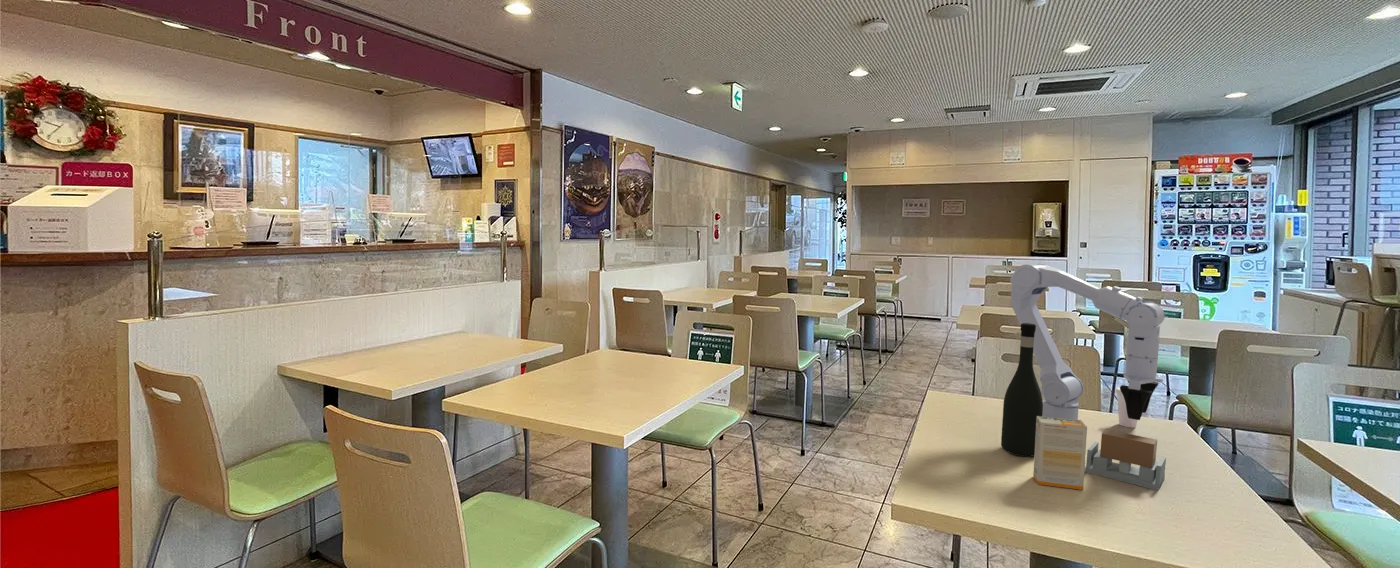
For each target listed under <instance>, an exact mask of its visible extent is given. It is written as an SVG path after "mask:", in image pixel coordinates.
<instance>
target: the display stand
mask: <svg viewBox="0 0 1400 568" xmlns="http://www.w3.org/2000/svg"><path fill="white" fill-rule="evenodd" d="M1100 450H1101V449H1099V442H1098V441H1097V442H1096V441H1094V442H1093V443H1092V444H1091V445H1090V447H1088V448H1087V449H1086V461H1085V470H1084V473H1087V474H1091V475H1096V476H1099V477H1104V478H1107V479H1110V480H1111V479H1112V480H1114V481H1115V480H1116V481H1120V482H1124V483H1128V484H1131V485H1137V486H1140V487H1143V488H1148V489H1151V490H1155V491H1159V490H1160V489H1161V486H1163V483H1164V481H1165V475H1166V465H1167V463H1166V461H1167V456H1161V457H1160V459H1159V461H1158V462H1157V461H1156V462H1155V465H1154V466H1153V468H1148V467H1144V466H1140V465H1139V467H1134V466H1132V464H1131V463H1127V462H1122V461H1119V462H1118V463H1117V462H1114V461H1113V459H1109V458H1105V457H1100Z"/></svg>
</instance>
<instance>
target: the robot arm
mask: <svg viewBox="0 0 1400 568" xmlns="http://www.w3.org/2000/svg"><path fill="white" fill-rule="evenodd" d="M1009 282H1010V283H1011V284H1010V285H1011V290H1010V291H1011V293H1010V304H1011V307H1012V310H1013V312H1014V314H1015V317H1016V318H1017V321H1018V322H1019V325H1020V326H1021V324H1022V323H1031V324H1035V325H1036V331H1035V335H1034V348H1033V356H1034V358H1035V359H1036V362H1037V364H1038V366H1039V368H1040V371H1039V377H1038V378H1039V381H1040V383H1041V394H1042V398H1044V399H1042V400H1043V417H1054V418H1065V419H1075V420H1079V410H1080V409H1079V407H1080V406H1079V405H1080V403H1079V401H1078V398H1080V397H1081V396H1082V395H1083V393H1084V391H1085V390H1084V389H1085V388H1084V384H1083V381H1082V380H1081V379H1080V378H1079V377H1078V376H1076V375H1075V373H1074V372H1073V369H1072V368H1071V367H1070V366H1068V364H1066V363H1065V362H1064V361H1063V360H1064V359H1063V358H1062V355H1061V354H1060V352H1059V350H1058V347H1057V345H1056V343H1055V341H1054V340H1053V337H1052V336H1051V333H1050V331H1049V329H1048V326H1047V325H1046V322H1045V320H1044V317H1043V316H1042V314H1041V311H1040V310H1039V308H1038V306H1037V302H1038V300H1039V299H1040V296H1041V295H1042V293H1043V292H1044V291H1046V290H1047V288H1051V287H1052V288H1055V287H1057V288H1061V289H1064V290H1065V291H1068V292H1070V293H1073V294H1075V295H1077V296H1080V297H1083V298H1085V299H1088V300H1090V301H1092V303H1093V305H1094V308H1095V309H1097V310H1099V311H1101V312H1104V313H1106V314H1108V315H1110V316H1112V317H1115V318H1118V319H1119V320H1122V321H1125V323H1127V325H1128V335H1127V345H1126V357H1125V370H1124V373H1123V378H1124V379H1125V380H1126V381H1127V383H1128V385H1124V384H1121V385H1120V386H1119V387H1120V390H1121V392H1122V394H1123V396H1124V399H1125V403H1126V409H1127V415H1128V418H1130V419H1135V420H1137V421H1140V420H1141V418H1142V415H1143V414H1146V412H1147V410H1148V407H1149V404H1150V401H1151V398H1152V395H1153V393H1154V391H1155V389H1157V388H1158V386H1159V383H1162V382H1163V380H1164V378H1163V377H1158V376H1157V372H1158V371H1157V370H1158V360H1159V351H1160V350H1159V348H1160V330H1161V326H1160V325H1161V324H1162V323H1163V322H1164V320H1165V311H1164V309H1163V308H1162V307H1161V306H1160V305H1159V304H1156V302H1155V301H1143V300H1144V298H1143V297H1141V296H1137V297H1135V296H1133V295H1130V294H1128V293H1126V292H1124V291H1121V290H1122V288H1121V287H1119V286H1117V285H1116V286H1115V285H1114V286H1113V287H1112V286H1104V287H1101V288H1100V287H1098V286H1096V285H1093V284H1091V283H1089V282H1087V281H1085V280H1083V279H1081V278H1079V277H1076V276H1075V275H1072V274H1071V273H1068V272H1067V271H1064V270H1062V269H1059V268H1057V267H1055V266H1049V265H1047V264H1045V263H1037V264H1021V265H1020V266H1018V267H1017V268H1016V269H1015V270H1014V272H1013V274H1012V275H1011V277H1010V279H1009Z"/></svg>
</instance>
